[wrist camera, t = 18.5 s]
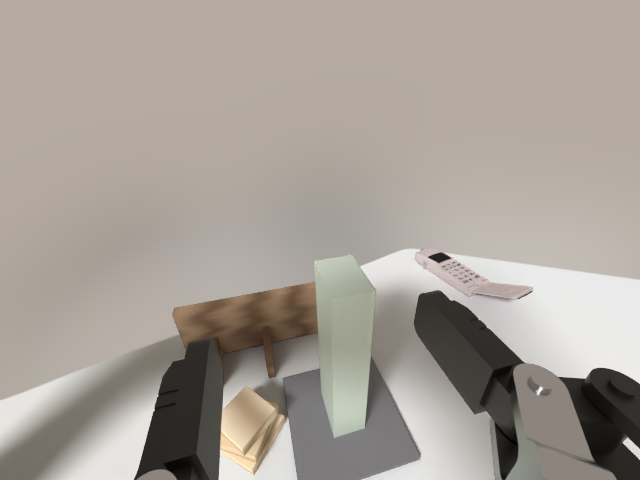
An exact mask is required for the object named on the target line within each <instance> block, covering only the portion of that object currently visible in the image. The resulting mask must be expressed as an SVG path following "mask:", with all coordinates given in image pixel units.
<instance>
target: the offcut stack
mask: <svg viewBox="0 0 640 480" xmlns="http://www.w3.org/2000/svg"><path fill="white" fill-rule="evenodd" d="M278 412H279V407H278V404H276V403H273V402H270V401H266V400H264V399H263V398H261V397H260V396H259V395H258V394H256V393H255V392H254V391H252V390H251V389H250V388H249V387H247V386H246V387H245V388H244V389H243V390H242V391H241V392H240V393H239V394H238V395H237V396H236V397H235V398H234V399H233V400H232V401H231V402H230V403H229V404H228V405H227V406H226V407H225V408H224V409H223V410H222V421H221V440H220V452H221V453H223V454H224V455H225V456H227V457H228V458H230V459H231V460H233V461H234V462H235V463H237V464H238V465H240V466H241V467H243V468H244V469H245V470H247V471H248V472H250V473H251V474H253V475H254V474H255V472H256V471H257V469H258V467H259V466H260V464H261V462H262V460H263V459H264V457H265V455H266V454H267V452H268V450H269V448H270V447H271V445H272V443H273V442H274V440H275V438H276V436H277V435H278V433H279V431H280V430H281V428H282V426H283V424H284V423H285V417H284V415H282V414H280V413H278Z"/></svg>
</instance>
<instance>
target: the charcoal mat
mask: <svg viewBox="0 0 640 480" xmlns="http://www.w3.org/2000/svg"><path fill="white" fill-rule="evenodd" d="M283 384H284V391H285V397H286V404H287V411H288V418H289V424H290V431H291V438H292V445H293V451H294V458H295V465H296V472H297V478H298V480H361V479H364V478H367V477H369V476H372V475H375V474H378V473H381V472H384V471H387V470H390V469H393V468H396V467H399V466H402V465H404V464H407V463H410V462H413V461H416V460H419V459H420V455H419V453H418V451H417V449H416V447H415V445H414V443H413V441H412V439H411V437H410V434H409V432H408V430H407V428H406V426H405V424H404V422H403V420H402V418H401V416H400V414H399V412H398V410H397V408H396V406H395V404H394V402H393V400H392V398H391V396H390V394H389V392H388V390H387V387H386V385H385V383H384V381H383V379H382V377H381V375H380V373H379V371H378V369H377V367H376V365H375V363H374V361H373V359H372V357H371V359H370V371H369V383H368V395H367V407H366V419H365V428H364V429H361V430H358V431H355V432H351V433H348V434H345V435H342V436H339V437H336V438H334V436H333V432H332V429H331V425H330V422H329V418H328V414H327V411H326V407H325V404H324V400H323V396H322V393H321V377H320V369H318V370H314V371H310V372H306V373H302V374H298V375H294V376H290V377H286V378H283Z"/></svg>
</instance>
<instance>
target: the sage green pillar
mask: <svg viewBox="0 0 640 480" xmlns="http://www.w3.org/2000/svg"><path fill="white" fill-rule="evenodd" d="M314 265H315V284H316V302H317V321H318V340H319V359H320V377H321V393H322V396H323V400H324V404H325V407H326V411H327V414H328V418H329V422H330V425H331V429H332V432H333V436H334V438H336V437H339V436H342V435H345V434H348V433H351V432H355V431H358V430H361V429H364V428H365V419H366V407H367V395H368V383H369V371H370V359H371V347H372V335H373V323H374V311H375V298H376V290H375V288H374V287H373V285H372V284H371V282H370V281H369V279H368V278H367V276H366V275H365V274H364V272H363V271H362V269H361V268H360V266H359V265H358V263H357V262H356V260H355V259H354V258H353V256H352V255H347V256H341V257H336V258H330V259H325V260H319V261H315V262H314Z"/></svg>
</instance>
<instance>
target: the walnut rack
mask: <svg viewBox="0 0 640 480" xmlns="http://www.w3.org/2000/svg"><path fill="white" fill-rule="evenodd" d="M172 316H173V318H174V321H175V323H176V326H177V328H178V331H179V333H180V336H181V338H182V341H183V343H184V346H185V348H186V350H187V345H188V343H189V342H191V341H196V340H200V339H205V338H210V337H212V338H213V339H214V342H215V345H216V348H217V352H218V355H219V358H220V361H221V364H222V357H223V353H228V352H232V351H237V350H241V349H246V348H250V347H255V346H259V345H264V351H265V361H266V366H267V371H268V376H269V378H272V377H276V376H275V368H274V360H273V352H272V344H271V343H273V342H277V341H282V340H286V339H291V338H295V337H300V336H304V335H309V334H313V333H318V321H317V302H316V284H315V282H312V283H307V284H301V285H296V286H291V287H285V288H280V289H275V290H269V291H264V292H258V293H253V294H247V295H242V296H237V297H231V298H226V299H220V300H215V301H210V302H204V303H199V304H193V305H188V306H183V307H177V308H174V311H173V314H172Z"/></svg>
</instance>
